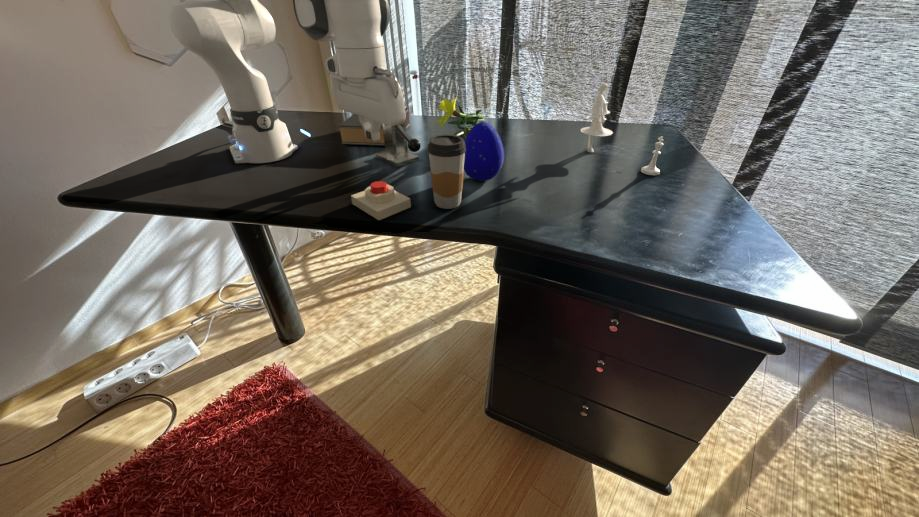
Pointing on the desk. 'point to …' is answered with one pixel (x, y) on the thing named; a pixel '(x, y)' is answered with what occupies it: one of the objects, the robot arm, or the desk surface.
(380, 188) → the button
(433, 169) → the coffee cup
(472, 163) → the ornament
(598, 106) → the figurine
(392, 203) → the block
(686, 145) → the desk surface
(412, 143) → the lever
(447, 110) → the daffodil flowers
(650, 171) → the chess piece
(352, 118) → the book
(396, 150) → the metal bracket
